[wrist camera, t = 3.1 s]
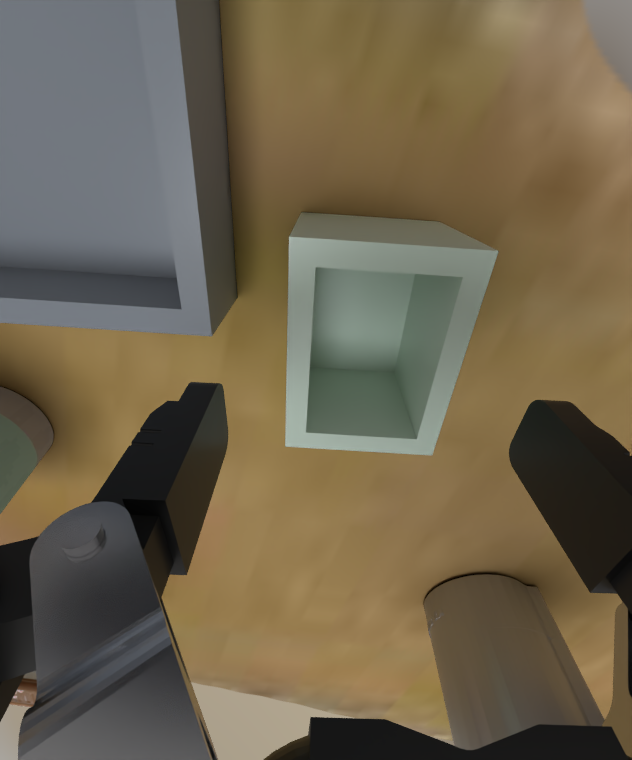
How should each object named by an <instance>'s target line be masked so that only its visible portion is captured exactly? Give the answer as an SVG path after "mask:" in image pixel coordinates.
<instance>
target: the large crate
mask: <svg viewBox="0 0 632 760" xmlns="http://www.w3.org/2000/svg"><path fill="white" fill-rule="evenodd" d="M236 299H237V284H236V268H235V252H234V236H233V220H232V203H231V187H230V171H229V155H228V139H227V122H226V106H225V90H224V74H223V58H222V41H221V25H220V9H219V0H0V323H14V324H29V325H45V326H60V327H76V328H91V329H107V330H122V331H138V332H153V333H169V334H184V335H200V336H212V335H213V334H214V332H215V331H216V329H217V328H218V326H219V325H220V323H221V322H222V320H223V319H224V317H225V316H226V314H227V313H228V311H229V310H230V308H231V306H232V305H233V303H234V302H235V300H236Z"/></svg>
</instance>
